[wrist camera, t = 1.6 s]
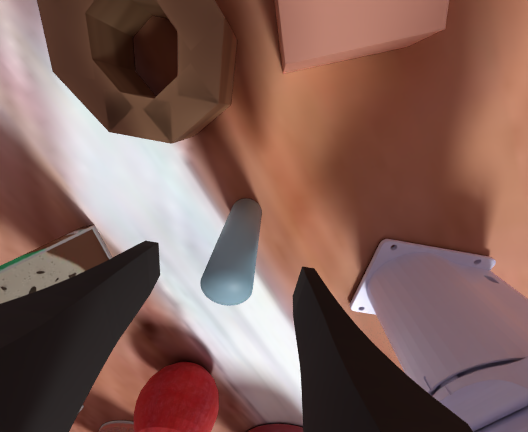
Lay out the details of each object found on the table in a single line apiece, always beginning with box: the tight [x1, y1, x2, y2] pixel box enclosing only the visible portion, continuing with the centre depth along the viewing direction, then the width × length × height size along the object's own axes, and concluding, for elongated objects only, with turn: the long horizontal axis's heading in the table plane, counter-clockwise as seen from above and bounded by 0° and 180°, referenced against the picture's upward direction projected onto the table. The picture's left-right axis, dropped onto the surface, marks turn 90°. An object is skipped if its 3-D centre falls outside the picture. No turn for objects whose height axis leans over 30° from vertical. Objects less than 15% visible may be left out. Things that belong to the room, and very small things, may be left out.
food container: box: [0, 225, 112, 412], centre depth 16 cm, size 12×6×10 cm, turn 8°
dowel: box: [201, 198, 262, 305], centre depth 14 cm, size 2×2×8 cm
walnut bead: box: [37, 0, 237, 143], centre depth 11 cm, size 8×8×4 cm
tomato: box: [134, 362, 219, 432], centre depth 24 cm, size 9×9×8 cm
